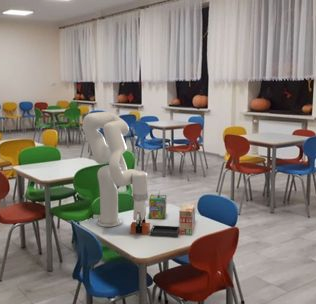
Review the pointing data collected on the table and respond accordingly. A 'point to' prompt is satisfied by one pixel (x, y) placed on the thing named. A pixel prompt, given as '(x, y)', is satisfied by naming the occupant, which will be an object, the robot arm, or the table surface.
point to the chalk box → (157, 206)
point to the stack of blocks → (186, 219)
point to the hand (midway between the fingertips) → (140, 229)
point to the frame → (164, 231)
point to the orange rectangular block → (144, 228)
